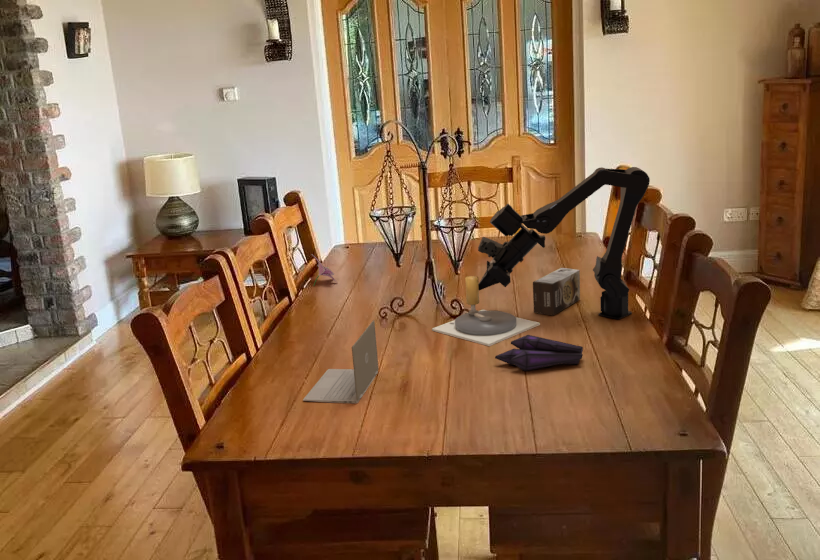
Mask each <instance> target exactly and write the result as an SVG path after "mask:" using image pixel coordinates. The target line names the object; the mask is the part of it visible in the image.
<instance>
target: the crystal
mask: <svg viewBox="0 0 820 560" xmlns="http://www.w3.org/2000/svg"><path fill="white" fill-rule="evenodd" d="M510 345H512V346H514V347H515V348H512V349H509V350H507V351H505V352H502V353H500V354H497V355H495V357H494V359H496V360H497V361H501V362H503V363H506V364H508V365H514V366H516V367H517V368H519V369H520V370H522V371H523V372H526V371H533V370H537V369H542V368H547V367H553V366H558V365H579V364H580V361H581V360H582V358H583V357H584V354H583V352H584V351H583V350H584V348H583V346H580V345H577V344H572V343H567V342H564V341H563V342H562V341H558V340H554V339H549V338H544V337H540V336H535V335H531V334H526V335H523V336H522V337H518V338H515V339H514V340H511V341H510Z"/></svg>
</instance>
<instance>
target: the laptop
mask: <svg viewBox="0 0 820 560" xmlns="http://www.w3.org/2000/svg"><path fill="white" fill-rule="evenodd" d="M375 324H376V323H375V320H374V319H373V320H372V321H371V322H370V323H369V325H368V326H367V328H365V330H364V331H363V332H362V334H361V335H360V336H359V338H358V339H357V340H356V341H355V342H354V344H353V345H352V346H351V354H352V367H353V369H352V368H351V369H350V368H349V369H348V368H328V369H327V370H326V371H325V372H324V374H322V376H321V377H320V378H319V379H318V381H317V382H316V383H315V384H314V385H313V386H312V388H311V389H310V390H309V392H308V393H307V394H306V395H305V396H304V398H303V399H302V401H304V402H317V403H333V404H334V403H335V404H358V403H359V402H360V400H361V399H362V397H363V396H364V395H365V393H366V392H367V390H368V389H369V387H370V385H371V384H372V382H373V381H374V380H375V377H376V376H377V374H378V373H379V355H378V347H377V336H376V335H377V334H376V325H375Z"/></svg>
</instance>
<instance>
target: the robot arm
mask: <svg viewBox="0 0 820 560" xmlns="http://www.w3.org/2000/svg"><path fill="white" fill-rule="evenodd" d="M650 180H651V179H650V176H649V175H648V173H647V172H646V171H644V170H642V169H641V168H640V167H637V166H631V167H628V168H626V169H622V168H620V169H619V168H605V167H602V166H601V167H598V168H596V169H594V171H593V173H591V174H590V175H589V176H587V177H586V178H584V179H583V180H581V181H580V182H579V183H578V184H577V185H575V186H574V187H573V188H571V189H570V190H569V191H568V192H567V193H565V194H564V195H562V196H561V197H559V198H558V199H556V200H554V201H552V202H549V203H547V204H545V205H543V206H541V207H540V208H538V209H536V210H535V211H534V212H533V213H528V214H527V213H526V214H521V215H520V214H519V213H518V211H516V210H515V209H514V208H513V206H512V205H511V204H510V203H506V205H504V206H503V207H502V208H500V209H499V210H497V211H496V212H495V213H494V215H493V216H492V217H491V218H490V220H489V224H491V225H492V226H493V227H494V228H496V230H498V231H499V232H500V233H501V234H502V235H503V236H504V237H508V236H509V237H512V238H510V240H508V241H504V242H503V243H502V244H501V243H499V242H498V241H495V240H493V239H491V238H488V237H486V236H482V237H481V240H480V243H479V245H478V247H477V248H478V249H477V250H478V252H480V253H482V254H485V255H487V257H488V258H492V259H491V260H490V261H489V260H486V270H485V272H484V274H483V275H482V277H481V279H480V281H478V284H479V291H482V290H484V289H487V288H490V287H492V286H494V285H497V284H500V285H501V286H502V287H504V288H507V286H509V285H510V283H511V273H512V272H513V270H514V268H515V267H516V266H517V265H518V264H519V263H522V262H523V261H524V260H525V259H524V258H525V257H526V255H528V254H529V253H530V252H531V251H532V250H533V248H535V246H537V244H538V245H539V246H540V247H542V248H543V249H544V248H545V247H546V244H545V242H546V235H547V234H550V233H551V232H553V231H554V230H555V229H556V228H557V227H558V226H559V225H560V223H561V222H562V221H563V220H564V219H565V218H566V216H567V214H569V213H570V212H571V211H572V210H574V209H575V208H577V207H578V205H580V204H582V203H583V202H585V200H587V199H588V198H589V197H590V196H592V195H593V194H594V193H596V191H599V190H600V189H601V188H602V187H604V186H611V187H619V188H620V202H619V205H618V210H617V213H616V215H615V220H614V223H613V226H612V231H611V233H610V236H609V240H608V244H607V247H606V251H605V252H604V254H603V255H602V257H601V256H598V255H597V256H596V258H595V259H596V260H595V265H594V267H593V269H592V272H593V273H594V279H595V281H596V282H597V283H598V286H599V287H600V288H601V289H602V290H603V291H601V296H600V297H599V298H600V301H599V302H600V312H598V314H597V315H598V316H601V317H604V318H605V317H606V318H610V319H615V320H621V319H623V318H625V317H628V316H630V315H632V313H633V312H632V311H630V310H629V291H630V288H629V287H628V286H627V284H626V283H625V282H624V280H623V279H622V273H623V272H622V269H623V267H622V264H623V263H622V258H623V254H624V251H625V247H626V244H627V241H628V237H629V234H630V233H629V232H630V231H631V227H632V225H633V220H634V217H635V212H636V210H637V206H638V205H639V204H640V202H641V200H642V199H643V197H644V196H645V194H646V192H647V190H648V188H649V186H650ZM540 234H541V235H540ZM542 234H544V235H542Z"/></svg>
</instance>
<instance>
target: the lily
mask: <svg viewBox="0 0 820 560" xmlns="http://www.w3.org/2000/svg"><path fill="white" fill-rule="evenodd" d="M312 257H313V258H314V259H315V260H316V261H317V263H318V264H317V267H318V275H317V277H316V278H315V280H314V283H313V287H314V286H315V285H316V282H317V280H318V279H319V277H320V276H323V277H328V278H331V279H332V280H333V281H334V282H337V280H336V278H334V277H333V276H334V275H335V273H334V272H333V271H332V270H331V269H330V266H324V265H323V264H322V263H321V262H320V260H319V259H318V258H317V257H316V256H315V255H314V254H312Z"/></svg>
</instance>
